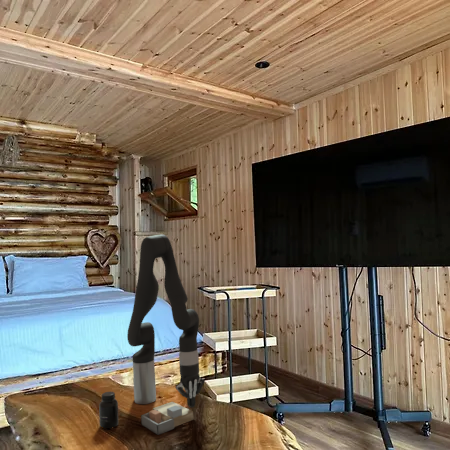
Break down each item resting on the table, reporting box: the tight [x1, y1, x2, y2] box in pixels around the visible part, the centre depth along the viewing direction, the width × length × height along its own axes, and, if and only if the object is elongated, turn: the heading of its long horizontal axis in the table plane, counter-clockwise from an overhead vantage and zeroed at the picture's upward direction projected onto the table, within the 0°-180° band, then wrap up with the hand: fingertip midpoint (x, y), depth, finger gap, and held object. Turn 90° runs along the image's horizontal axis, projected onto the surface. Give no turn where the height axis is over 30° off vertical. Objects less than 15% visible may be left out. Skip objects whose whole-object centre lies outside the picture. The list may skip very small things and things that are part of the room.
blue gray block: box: [167, 406, 182, 418], centre depth 156 cm, size 4×4×2 cm
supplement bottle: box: [98, 391, 119, 429], centre depth 157 cm, size 7×7×12 cm
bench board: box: [152, 401, 194, 428], centre depth 161 cm, size 14×9×3 cm, turn 40°
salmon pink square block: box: [148, 409, 161, 424], centre depth 156 cm, size 4×4×2 cm
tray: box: [140, 410, 175, 435], centre depth 154 cm, size 12×7×4 cm, turn 40°
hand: (191, 406), depth 161 cm, fingers closed
